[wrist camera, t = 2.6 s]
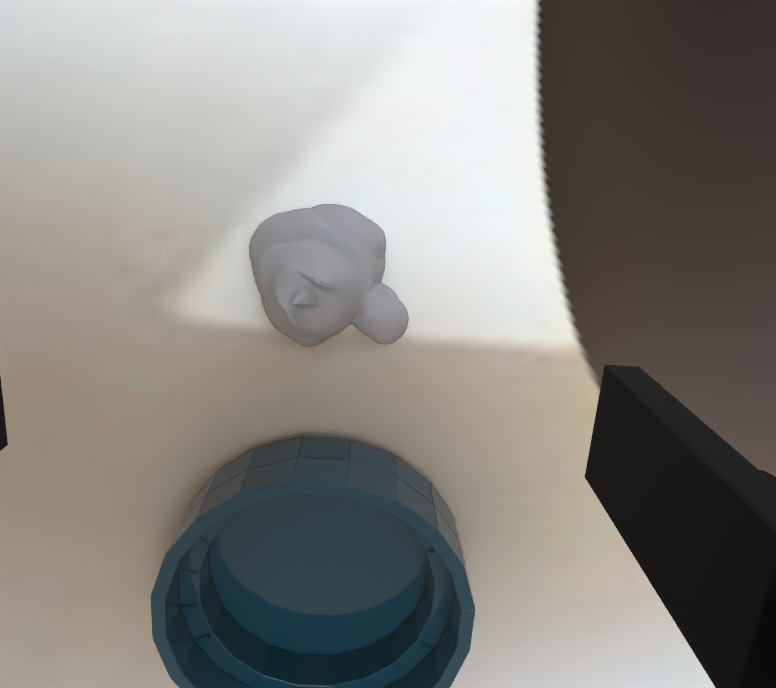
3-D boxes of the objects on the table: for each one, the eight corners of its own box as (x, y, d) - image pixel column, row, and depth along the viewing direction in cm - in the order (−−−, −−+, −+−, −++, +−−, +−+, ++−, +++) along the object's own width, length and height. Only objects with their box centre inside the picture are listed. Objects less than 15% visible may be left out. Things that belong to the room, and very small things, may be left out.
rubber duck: (299, 165, 26) (270, 179, 18) (437, 257, 27) (463, 305, 20) (231, 278, 27) (177, 335, 20) (365, 361, 29) (363, 444, 21)
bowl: (177, 423, 29) (144, 473, 25) (473, 439, 30) (490, 490, 25) (184, 664, 33) (157, 743, 29) (446, 673, 34) (457, 752, 29)
